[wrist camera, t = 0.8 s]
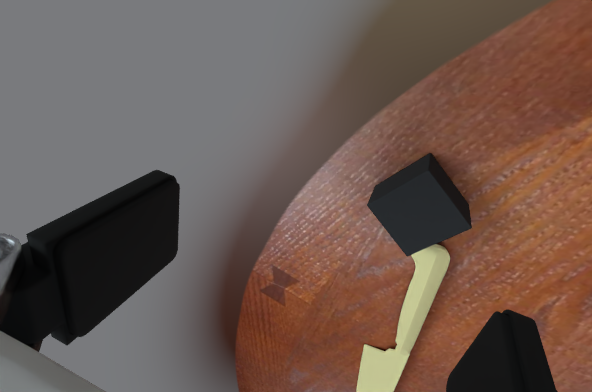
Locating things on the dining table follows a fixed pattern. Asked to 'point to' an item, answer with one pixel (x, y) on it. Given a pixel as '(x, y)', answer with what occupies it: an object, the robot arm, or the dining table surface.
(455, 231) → the loose pad
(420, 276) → the knife
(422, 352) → the dining table surface
